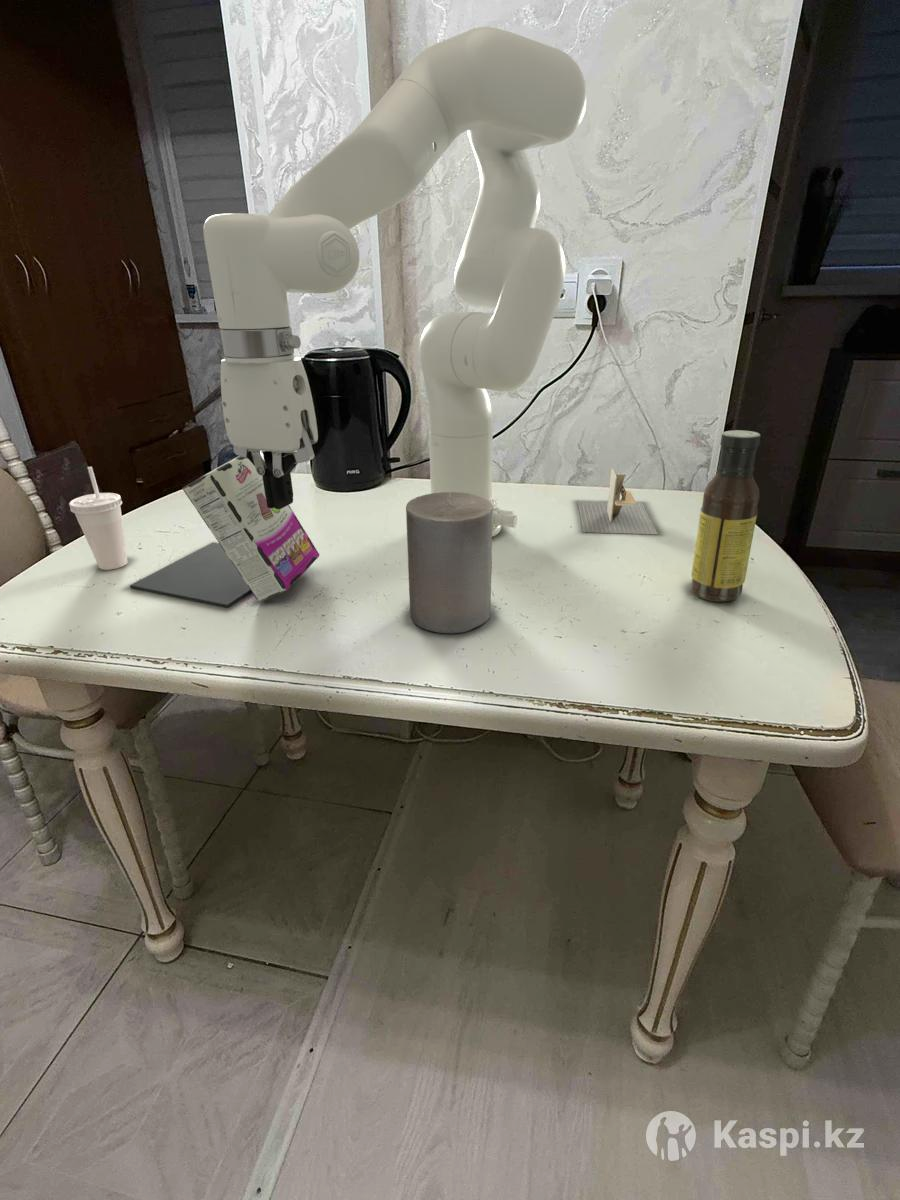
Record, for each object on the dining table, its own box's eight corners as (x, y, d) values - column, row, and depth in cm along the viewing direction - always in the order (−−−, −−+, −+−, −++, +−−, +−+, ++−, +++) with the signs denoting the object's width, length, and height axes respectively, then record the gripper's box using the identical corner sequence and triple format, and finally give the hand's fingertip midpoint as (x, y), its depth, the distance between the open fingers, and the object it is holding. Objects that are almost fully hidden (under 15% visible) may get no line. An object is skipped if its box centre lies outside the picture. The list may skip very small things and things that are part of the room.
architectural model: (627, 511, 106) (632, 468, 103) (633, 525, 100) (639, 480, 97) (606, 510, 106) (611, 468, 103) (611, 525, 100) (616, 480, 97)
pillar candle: (413, 595, 79) (408, 480, 72) (490, 596, 79) (492, 480, 72) (406, 634, 70) (399, 508, 64) (492, 635, 70) (495, 507, 63)
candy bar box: (293, 568, 88) (227, 462, 82) (321, 555, 86) (256, 446, 80) (255, 604, 78) (178, 487, 72) (286, 591, 76) (210, 470, 71)
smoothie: (147, 559, 91) (123, 464, 84) (109, 576, 86) (80, 477, 79) (116, 552, 93) (90, 460, 87) (78, 569, 88) (47, 471, 82)
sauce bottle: (746, 589, 79) (782, 431, 70) (733, 608, 75) (770, 442, 66) (695, 577, 83) (722, 425, 74) (680, 595, 78) (707, 435, 69)
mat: (301, 558, 90) (301, 556, 90) (227, 607, 77) (227, 604, 77) (213, 544, 96) (212, 542, 95) (130, 587, 82) (129, 585, 82)
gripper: (334, 344, 69) (348, 502, 78) (225, 341, 74) (250, 490, 83) (296, 351, 63) (316, 522, 71) (180, 347, 68) (211, 508, 76)
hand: (280, 505), depth 77 cm, fingers closed
